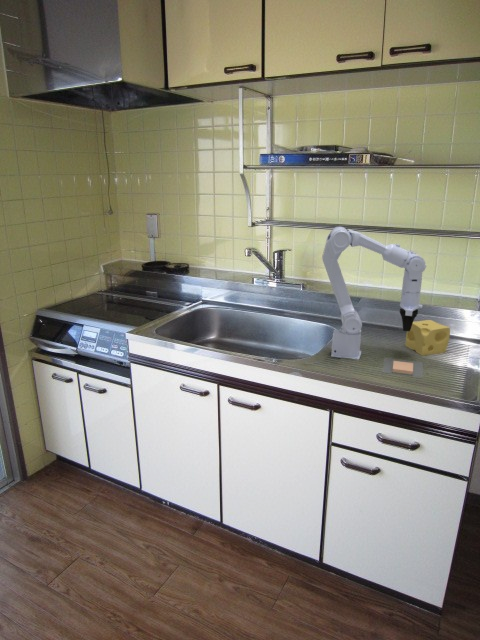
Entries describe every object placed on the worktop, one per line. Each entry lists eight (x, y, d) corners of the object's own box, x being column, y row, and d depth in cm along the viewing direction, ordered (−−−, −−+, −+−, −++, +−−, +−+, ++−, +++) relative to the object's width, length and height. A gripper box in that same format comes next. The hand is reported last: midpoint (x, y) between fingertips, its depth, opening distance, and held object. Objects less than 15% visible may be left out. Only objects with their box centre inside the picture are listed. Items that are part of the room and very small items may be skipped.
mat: (381, 374, 144) (382, 372, 144) (384, 359, 156) (384, 357, 156) (422, 379, 140) (422, 377, 140) (422, 364, 152) (422, 362, 152)
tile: (393, 364, 150) (392, 372, 144) (393, 360, 150) (392, 368, 143) (412, 367, 148) (412, 375, 142) (413, 363, 148) (412, 371, 141)
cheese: (421, 357, 158) (425, 330, 155) (403, 346, 168) (406, 320, 164) (447, 354, 160) (451, 327, 157) (427, 344, 170) (431, 318, 167)
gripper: (424, 297, 142) (419, 338, 146) (423, 287, 155) (419, 325, 159) (400, 295, 145) (396, 336, 149) (401, 285, 158) (397, 323, 162)
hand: (406, 330), depth 154 cm, fingers closed
